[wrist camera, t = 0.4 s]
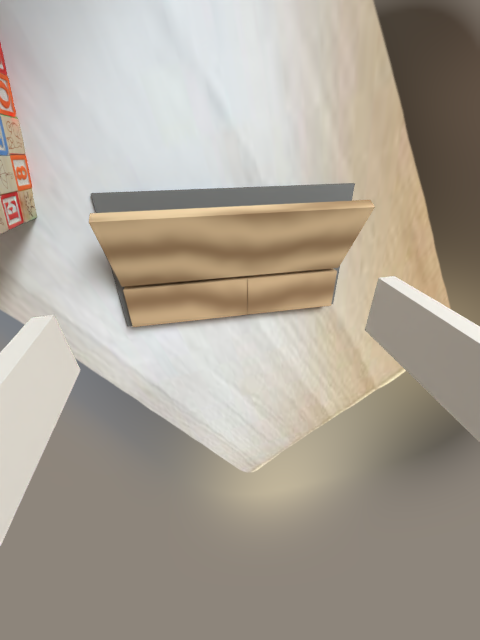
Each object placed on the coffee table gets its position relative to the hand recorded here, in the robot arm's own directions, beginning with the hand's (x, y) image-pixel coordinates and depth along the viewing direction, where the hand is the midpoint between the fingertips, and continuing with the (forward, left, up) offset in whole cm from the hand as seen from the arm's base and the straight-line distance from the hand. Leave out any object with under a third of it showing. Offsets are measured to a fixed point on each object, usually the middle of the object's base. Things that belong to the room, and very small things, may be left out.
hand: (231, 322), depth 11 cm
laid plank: (+11, +4, -25) cm, 28 cm away
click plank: (+3, +4, -22) cm, 23 cm away
